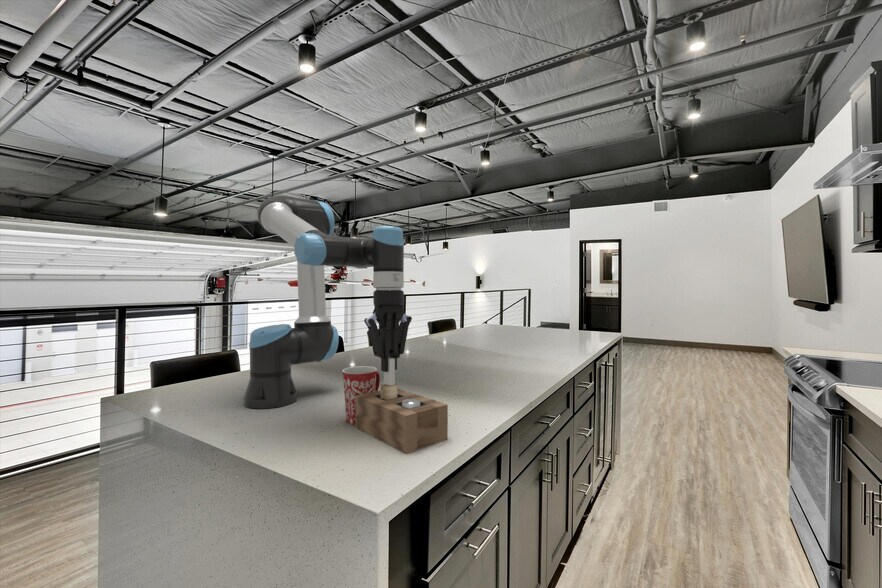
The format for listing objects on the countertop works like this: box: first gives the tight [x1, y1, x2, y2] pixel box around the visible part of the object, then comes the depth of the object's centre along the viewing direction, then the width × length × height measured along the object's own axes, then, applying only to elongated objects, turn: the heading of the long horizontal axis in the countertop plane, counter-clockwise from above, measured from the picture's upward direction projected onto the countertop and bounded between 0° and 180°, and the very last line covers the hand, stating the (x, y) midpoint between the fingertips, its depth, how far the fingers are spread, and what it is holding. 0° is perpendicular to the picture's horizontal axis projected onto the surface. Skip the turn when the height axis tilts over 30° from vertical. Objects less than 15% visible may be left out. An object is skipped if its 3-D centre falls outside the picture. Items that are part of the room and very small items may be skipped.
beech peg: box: [380, 382, 398, 400], centre depth 97 cm, size 4×4×8 cm
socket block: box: [355, 387, 449, 454], centre depth 94 cm, size 21×12×8 cm, turn 42°
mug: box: [341, 365, 381, 425], centre depth 105 cm, size 13×9×14 cm
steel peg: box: [402, 399, 420, 409], centre depth 91 cm, size 4×4×8 cm
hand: (389, 384), depth 97 cm, fingers closed
